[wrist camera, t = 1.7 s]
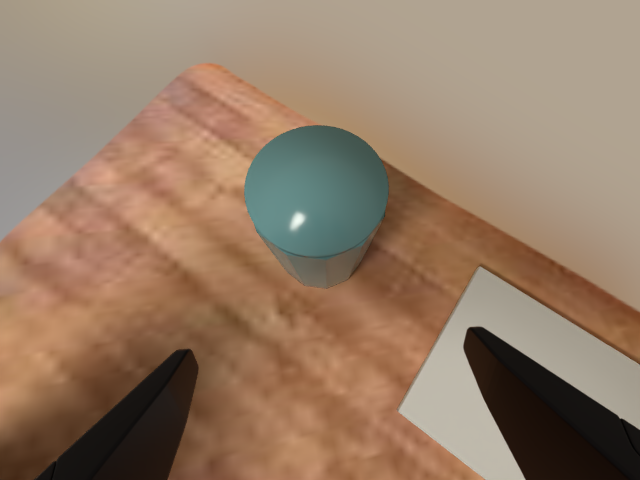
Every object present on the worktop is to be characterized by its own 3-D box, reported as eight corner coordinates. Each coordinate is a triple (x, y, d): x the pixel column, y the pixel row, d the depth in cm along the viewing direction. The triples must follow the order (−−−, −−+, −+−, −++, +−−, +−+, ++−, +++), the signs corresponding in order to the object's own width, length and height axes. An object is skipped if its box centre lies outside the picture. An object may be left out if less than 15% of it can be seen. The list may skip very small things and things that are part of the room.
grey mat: (742, 431, 19) (751, 433, 19) (691, 638, 16) (700, 646, 16) (477, 267, 23) (479, 266, 23) (396, 409, 20) (397, 411, 20)
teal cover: (357, 292, 23) (383, 264, 12) (274, 281, 23) (229, 244, 12) (364, 214, 25) (392, 132, 14) (288, 205, 25) (260, 119, 15)
